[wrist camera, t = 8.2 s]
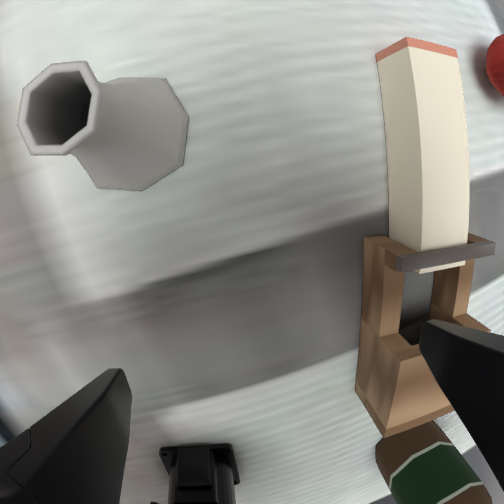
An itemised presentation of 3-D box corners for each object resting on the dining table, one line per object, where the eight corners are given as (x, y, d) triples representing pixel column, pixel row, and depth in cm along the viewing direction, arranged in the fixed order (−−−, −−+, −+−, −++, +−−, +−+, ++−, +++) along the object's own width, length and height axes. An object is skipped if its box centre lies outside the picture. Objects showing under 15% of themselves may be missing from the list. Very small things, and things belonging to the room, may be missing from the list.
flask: (69, 97, 16) (-27, 60, 7) (178, 63, 17) (151, -21, 7) (89, 205, 18) (-4, 245, 9) (201, 176, 19) (188, 188, 9)
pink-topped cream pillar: (431, 249, 22) (465, 265, 18) (388, 255, 21) (419, 274, 17) (422, 61, 18) (456, 49, 14) (375, 54, 17) (406, 36, 14)
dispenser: (431, 366, 25) (467, 404, 19) (354, 390, 24) (383, 438, 19) (451, 227, 21) (505, 246, 16) (363, 237, 21) (412, 263, 15)
